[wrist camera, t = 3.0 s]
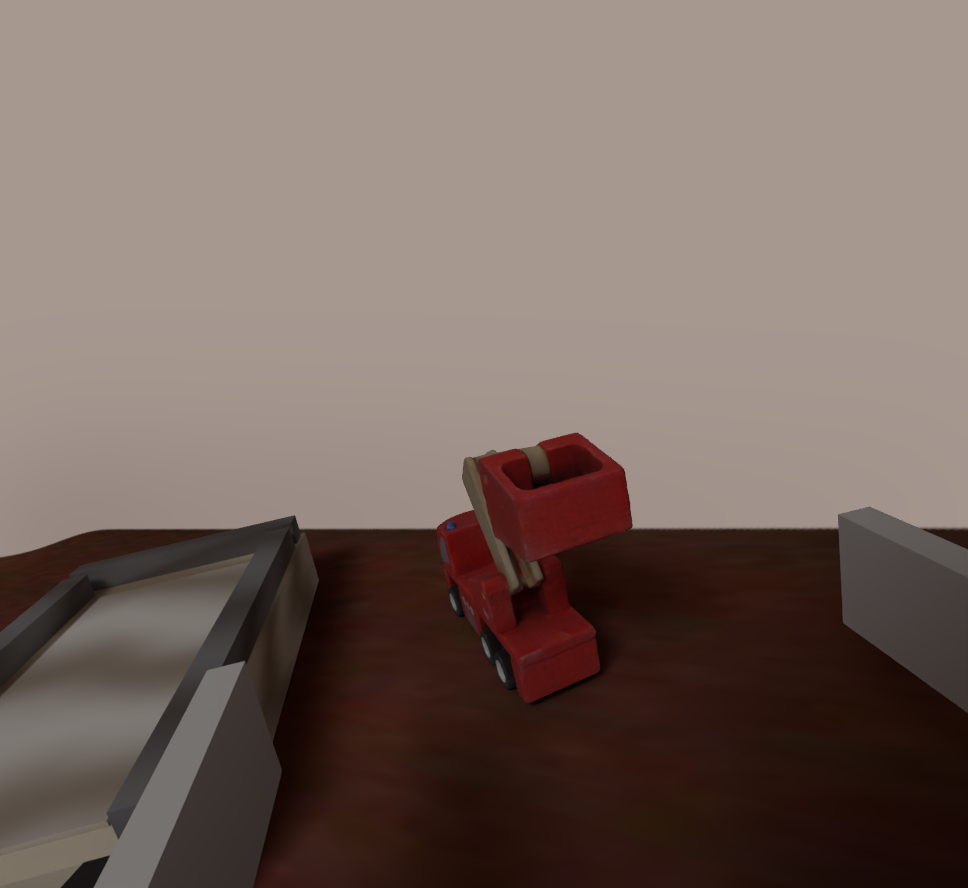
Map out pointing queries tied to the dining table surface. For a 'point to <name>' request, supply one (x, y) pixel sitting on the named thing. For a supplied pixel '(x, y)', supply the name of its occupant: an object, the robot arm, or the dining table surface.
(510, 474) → the toy fire truck
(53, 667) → the dock
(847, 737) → the dining table surface
